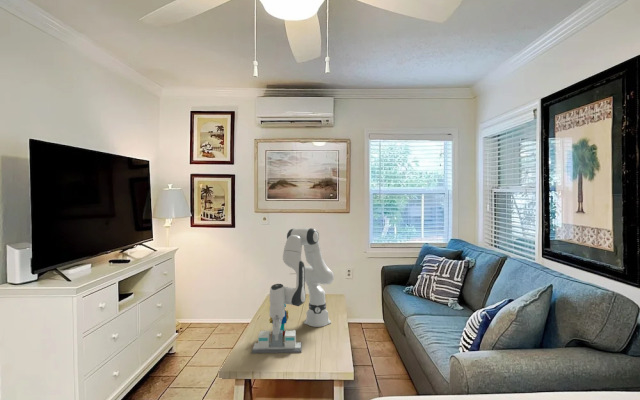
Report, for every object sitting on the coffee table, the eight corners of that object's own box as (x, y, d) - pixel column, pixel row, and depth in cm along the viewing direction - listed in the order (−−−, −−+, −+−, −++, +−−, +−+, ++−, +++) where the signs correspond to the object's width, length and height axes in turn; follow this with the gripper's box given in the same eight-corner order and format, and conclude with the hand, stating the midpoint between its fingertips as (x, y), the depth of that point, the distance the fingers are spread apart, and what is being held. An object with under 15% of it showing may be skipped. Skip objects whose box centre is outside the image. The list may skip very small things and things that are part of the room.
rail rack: (254, 345, 213) (254, 330, 213) (301, 344, 214) (301, 329, 213) (251, 353, 202) (251, 337, 202) (301, 352, 203) (301, 336, 202)
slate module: (272, 343, 210) (272, 330, 210) (282, 343, 210) (282, 329, 210) (271, 346, 205) (271, 333, 205) (282, 346, 206) (282, 332, 205)
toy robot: (286, 332, 233) (285, 293, 232) (288, 335, 227) (288, 296, 226) (268, 334, 228) (268, 295, 228) (270, 338, 223) (270, 298, 222)
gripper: (281, 319, 197) (281, 344, 197) (284, 307, 218) (284, 329, 218) (269, 319, 197) (270, 344, 197) (273, 307, 217) (273, 330, 218)
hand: (277, 336), depth 208 cm, fingers open, 8 cm apart
